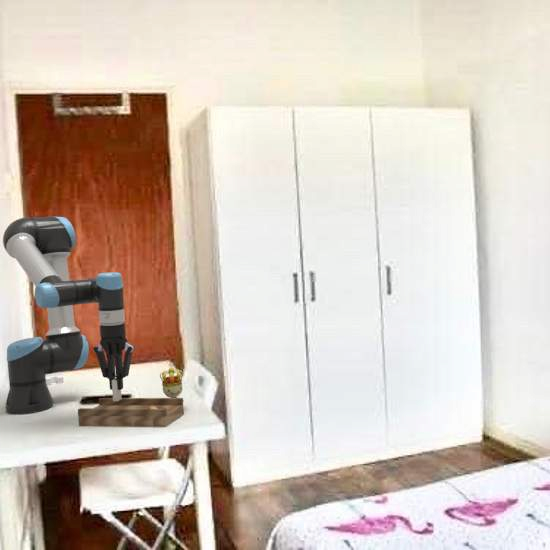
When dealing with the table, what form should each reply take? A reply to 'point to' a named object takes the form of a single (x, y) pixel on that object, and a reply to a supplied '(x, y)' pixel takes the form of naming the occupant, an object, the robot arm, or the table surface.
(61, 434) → the table surface
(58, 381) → the slotted bracket
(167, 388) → the toy
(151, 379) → the table surface
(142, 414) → the brown wooden tray
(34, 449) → the table surface
